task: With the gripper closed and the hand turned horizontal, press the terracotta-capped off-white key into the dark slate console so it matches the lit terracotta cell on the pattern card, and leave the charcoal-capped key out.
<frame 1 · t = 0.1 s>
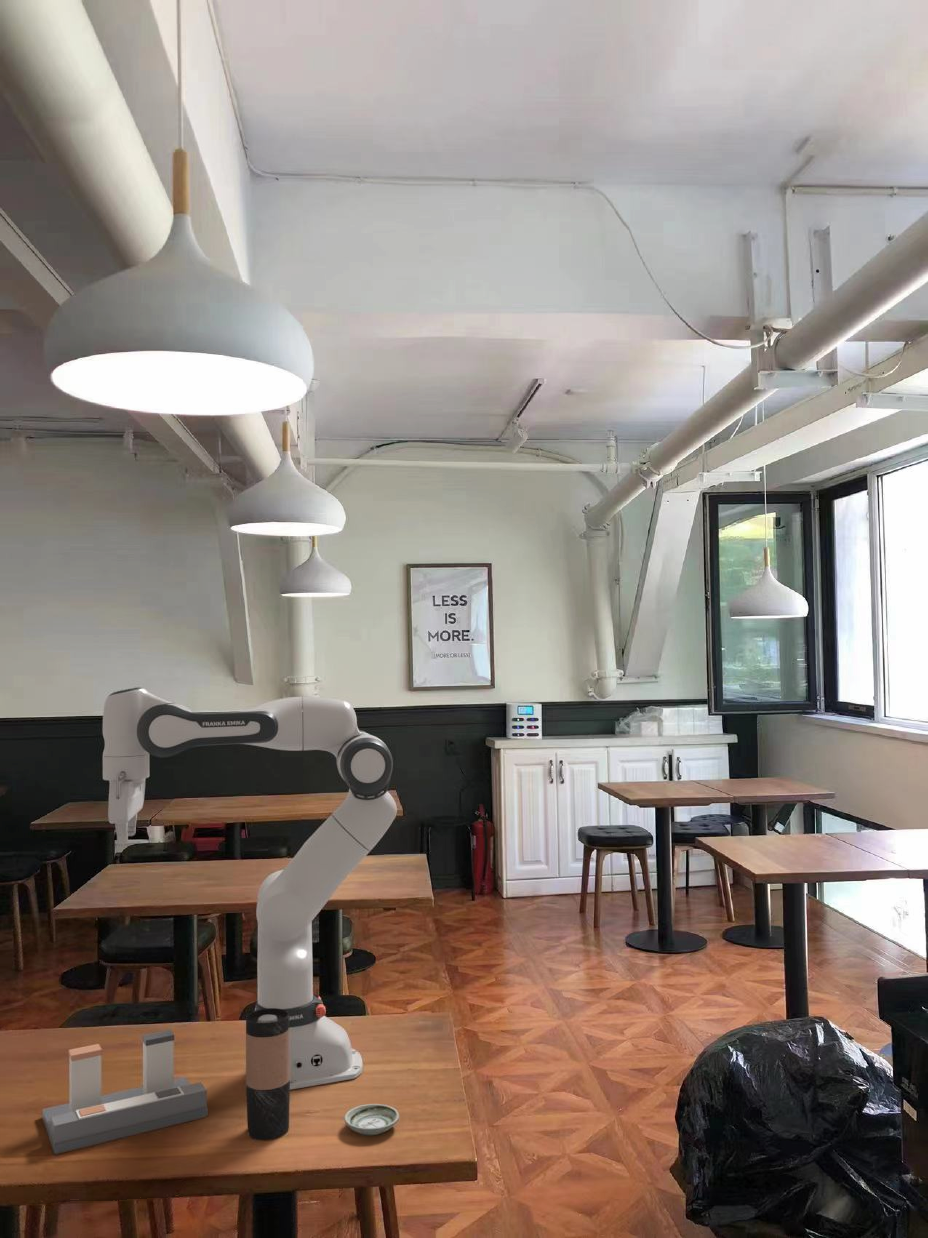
hand: (126, 839, 195), 48 cm above the table, tool pointing down, fingers open, 8 cm apart
terracotta key: (85, 1080, 179), point 7 cm above the table, slide at 0.0 cm
travel mug: (268, 1131, 174), on the table
saucer: (371, 1130, 174), on the table
charcoal key: (158, 1064, 185), point 7 cm above the table, slide at 0.0 cm
key console: (124, 1117, 180), on the table
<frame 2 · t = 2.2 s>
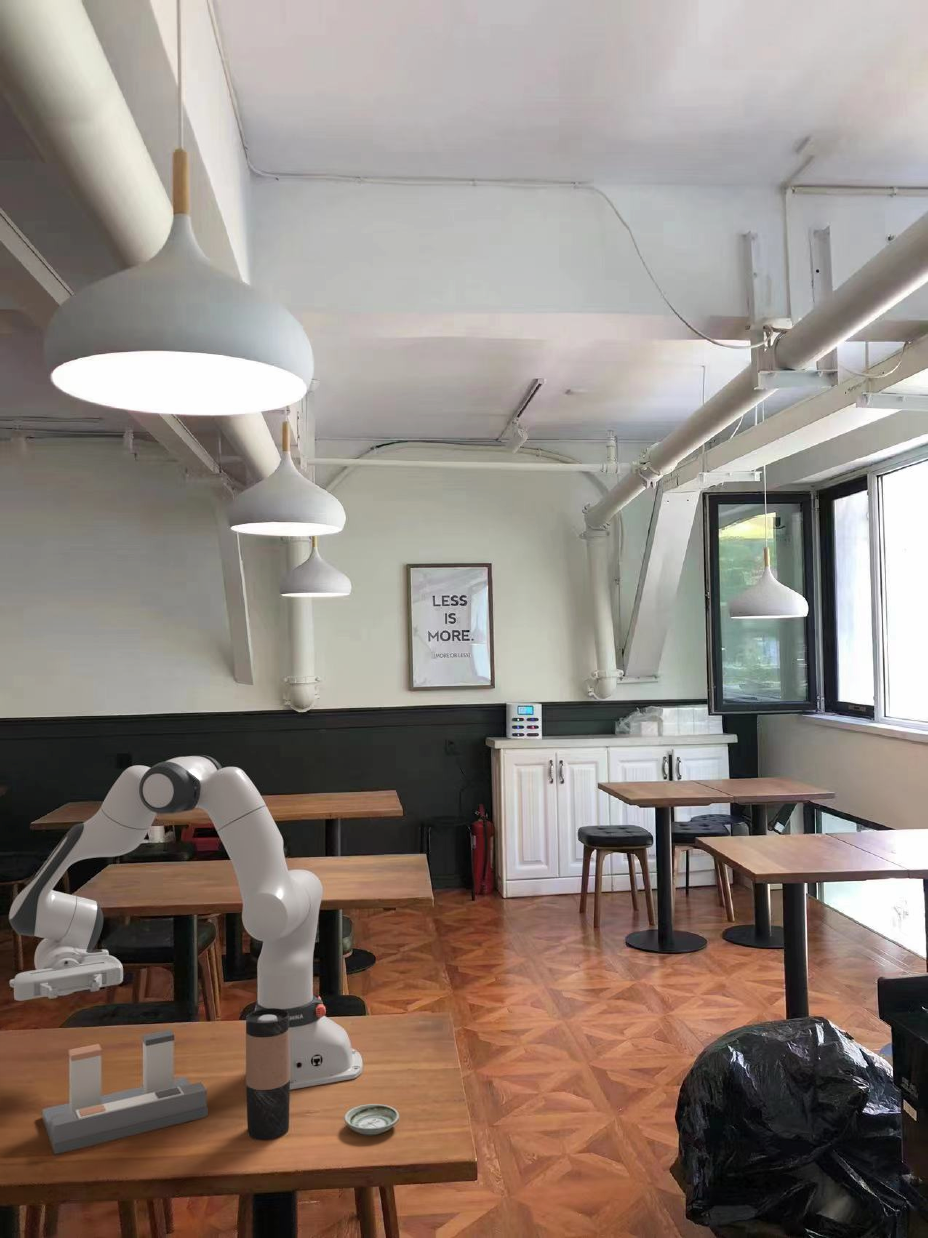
hand: (74, 990, 190), 20 cm above the table, tool horizontal, fingers open, 6 cm apart
nothing on the table moved.
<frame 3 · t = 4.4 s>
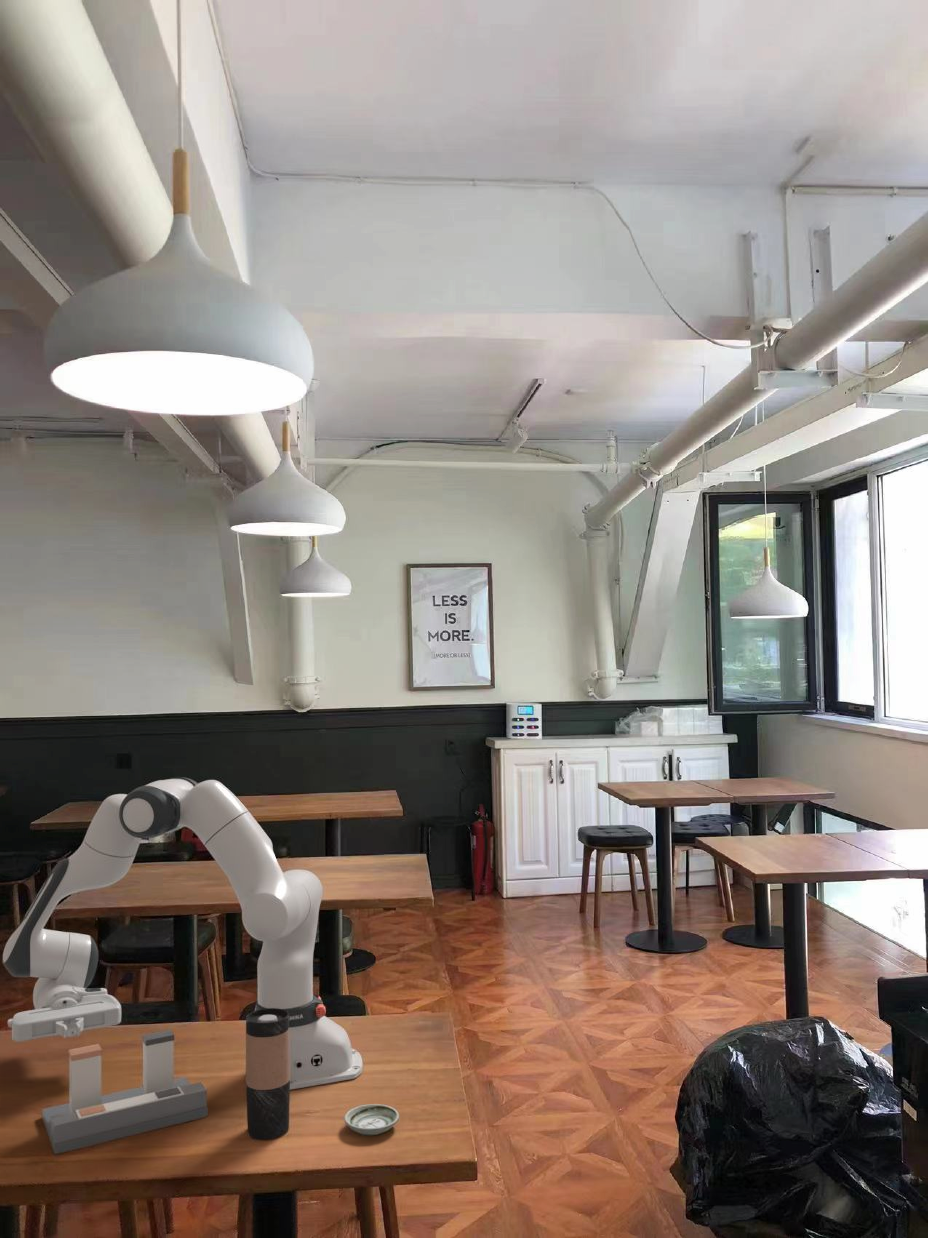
hand: (72, 1032, 189), 12 cm above the table, tool horizontal, fingers closed
nothing on the table moved.
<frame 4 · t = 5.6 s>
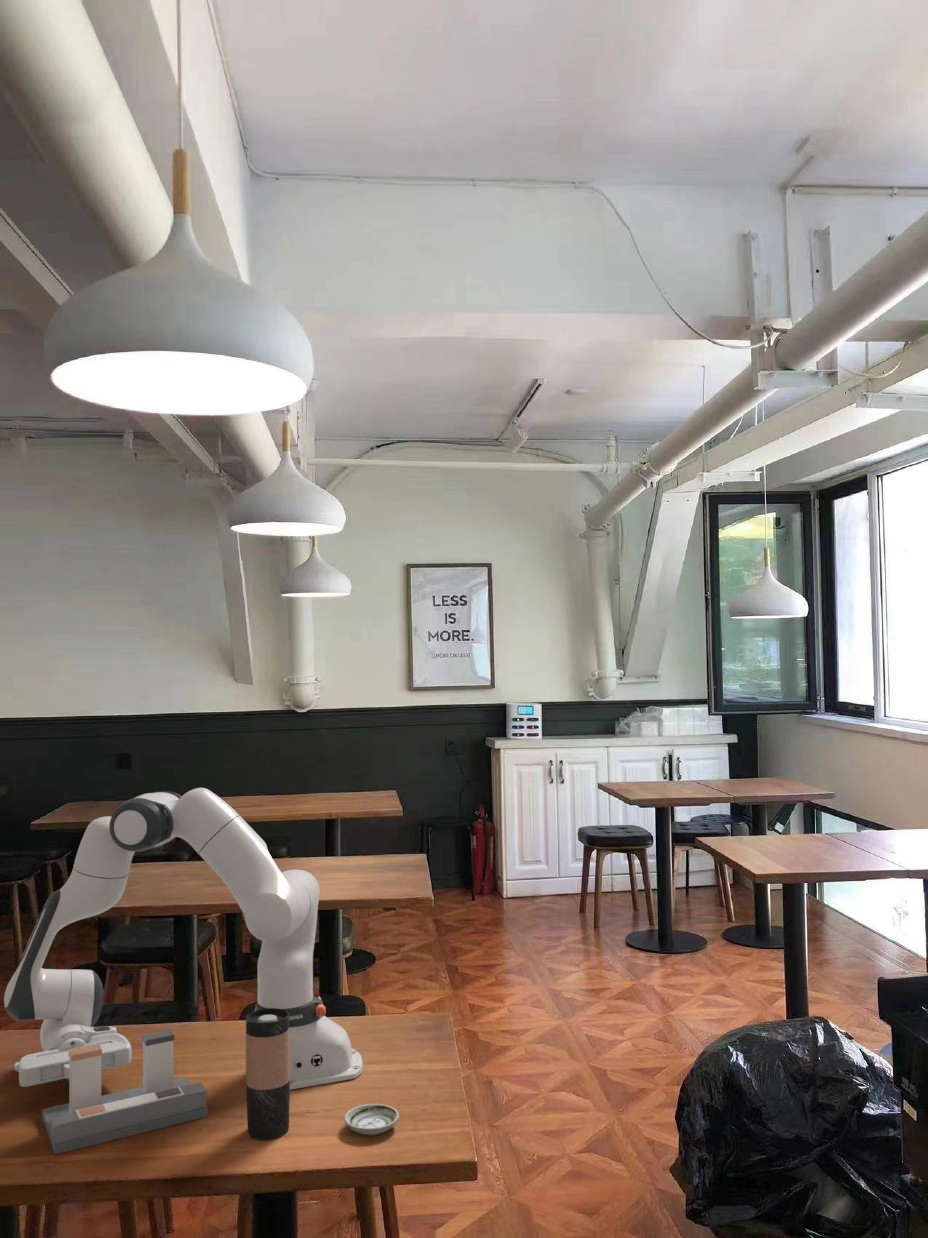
hand: (81, 1075, 183), 6 cm above the table, tool horizontal, fingers closed
nothing on the table moved.
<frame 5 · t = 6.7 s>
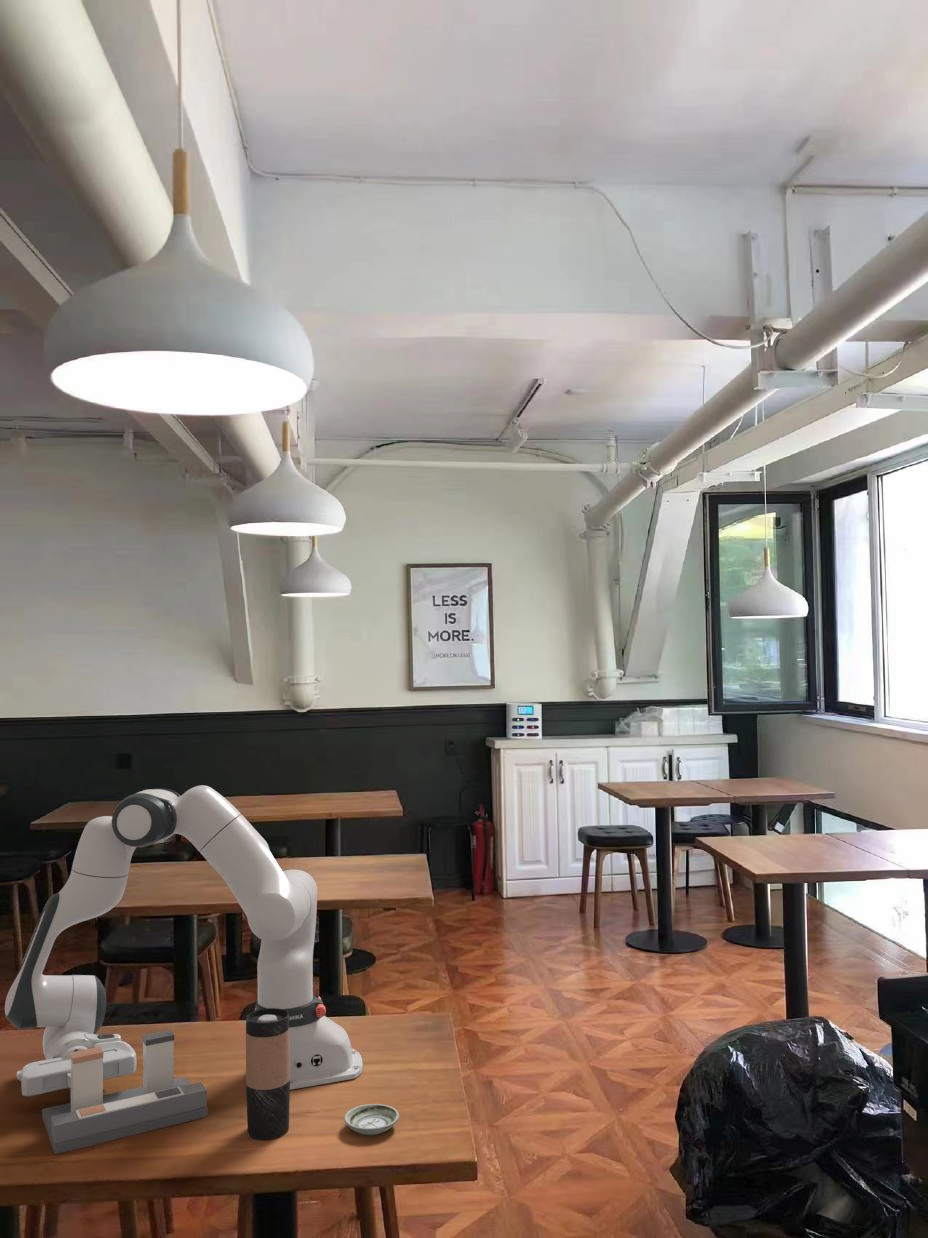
hand: (85, 1085, 179), 6 cm above the table, tool horizontal, fingers closed, pressing on terracotta key
terracotta key: (86, 1083, 177), point 7 cm above the table, slide at 1.5 cm, touching gripper
everything else where it was.
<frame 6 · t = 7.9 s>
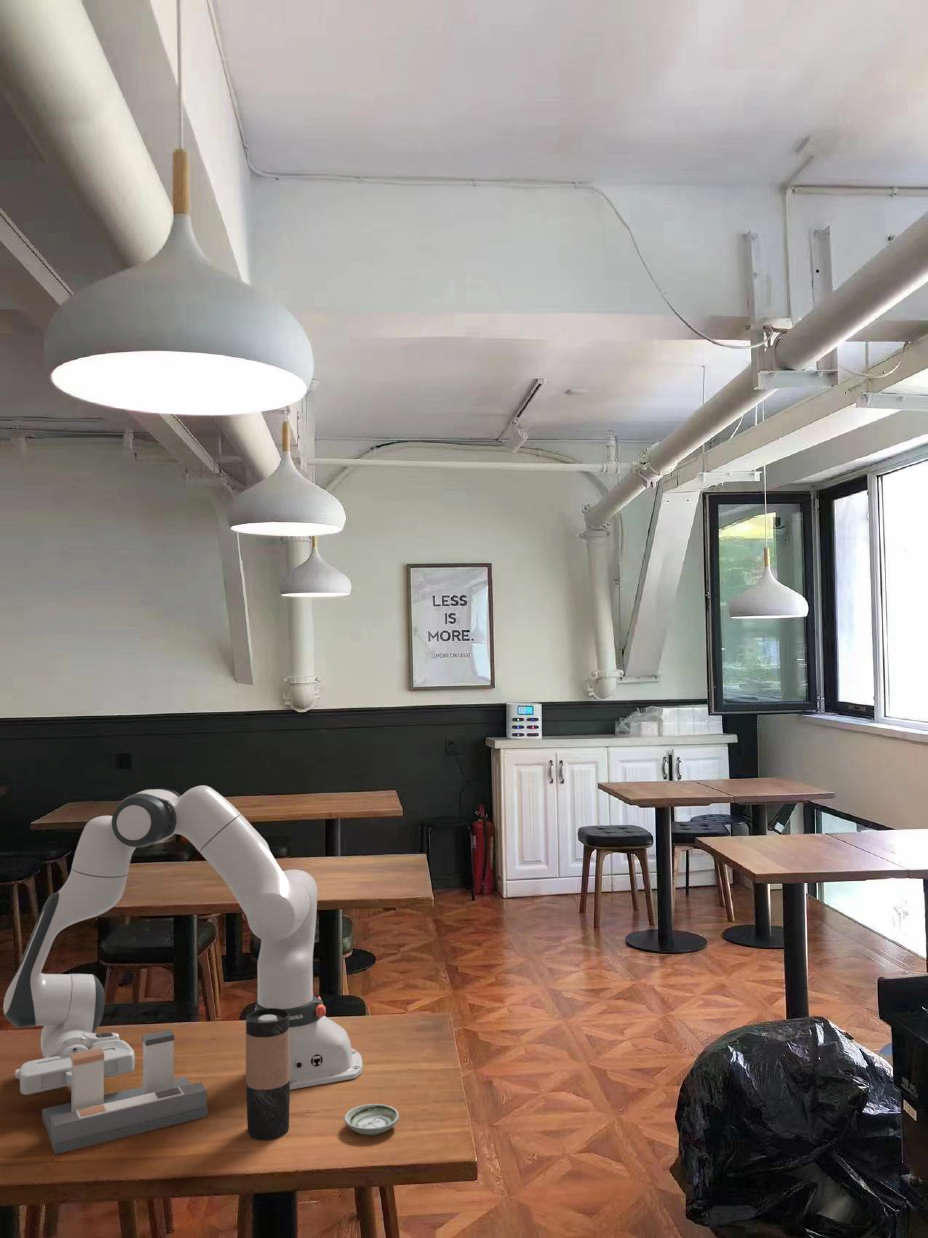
hand: (84, 1083, 179), 7 cm above the table, tool horizontal, fingers closed
terracotta key: (87, 1085, 177), point 7 cm above the table, slide at 2.4 cm
everything else where it was.
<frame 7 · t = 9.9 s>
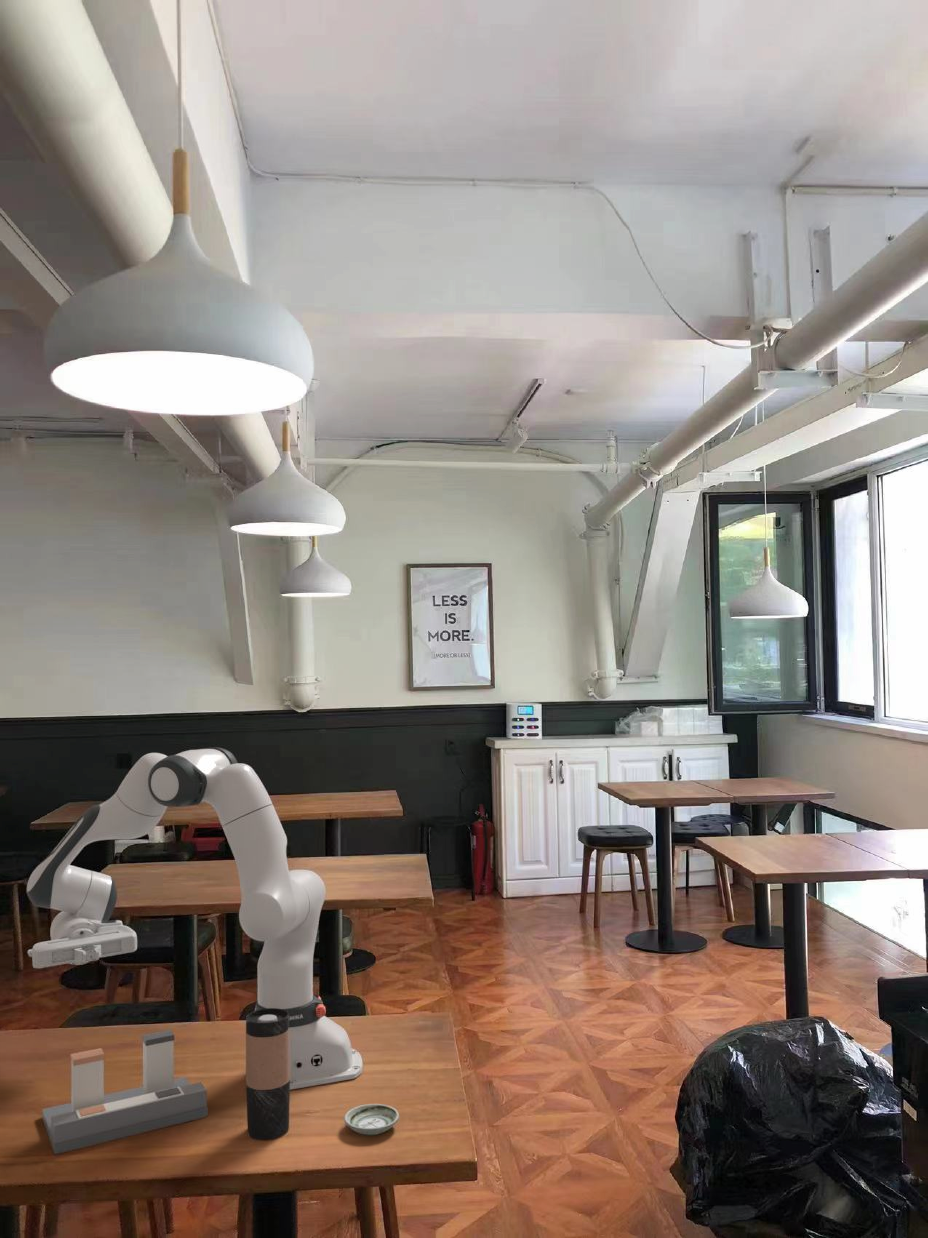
hand: (91, 957, 196), 25 cm above the table, tool horizontal, fingers closed
nothing on the table moved.
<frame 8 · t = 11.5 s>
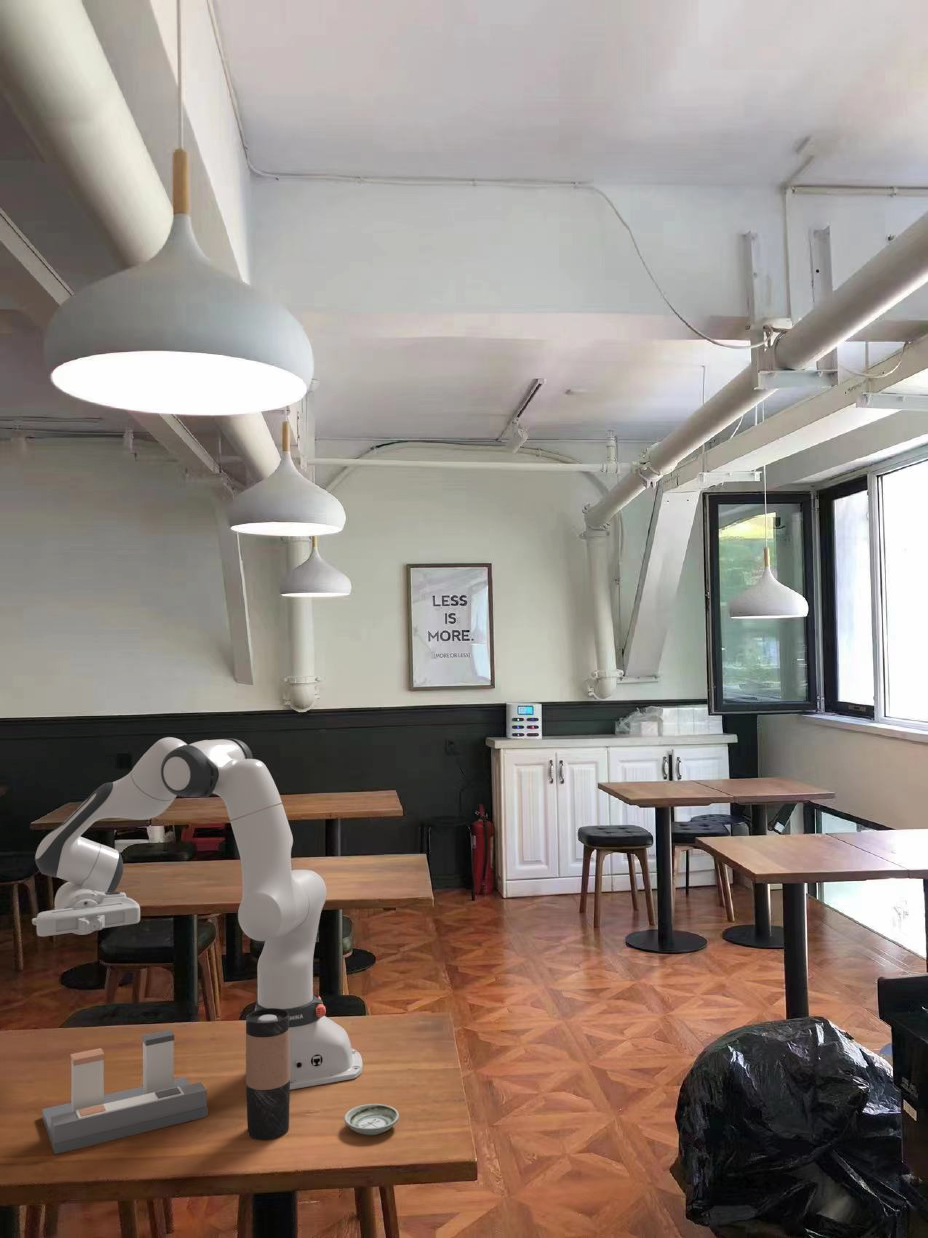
hand: (94, 926, 198), 30 cm above the table, tool horizontal, fingers closed
nothing on the table moved.
at the end: terracotta key slide at 2.4 cm; charcoal key slide at 0.0 cm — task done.
